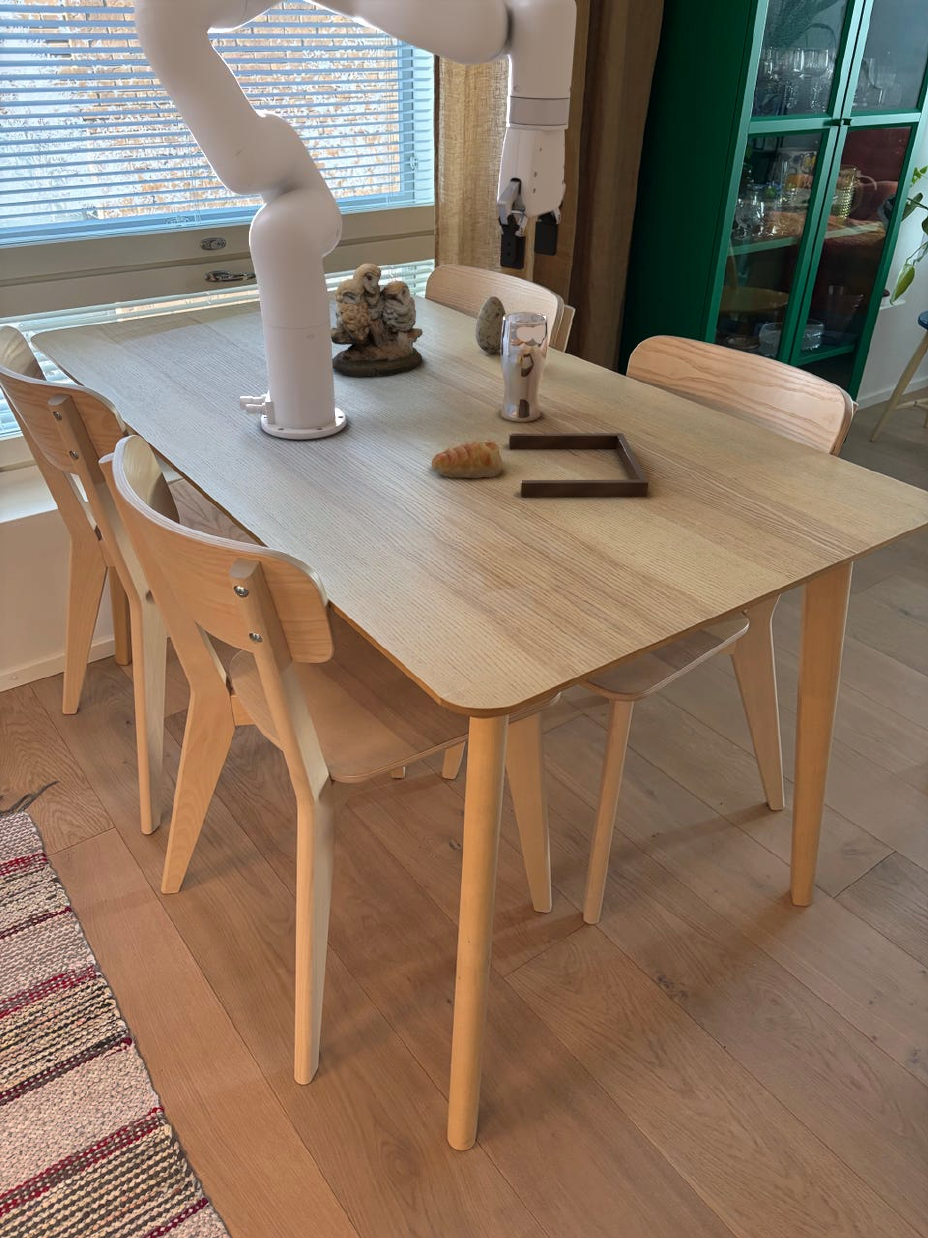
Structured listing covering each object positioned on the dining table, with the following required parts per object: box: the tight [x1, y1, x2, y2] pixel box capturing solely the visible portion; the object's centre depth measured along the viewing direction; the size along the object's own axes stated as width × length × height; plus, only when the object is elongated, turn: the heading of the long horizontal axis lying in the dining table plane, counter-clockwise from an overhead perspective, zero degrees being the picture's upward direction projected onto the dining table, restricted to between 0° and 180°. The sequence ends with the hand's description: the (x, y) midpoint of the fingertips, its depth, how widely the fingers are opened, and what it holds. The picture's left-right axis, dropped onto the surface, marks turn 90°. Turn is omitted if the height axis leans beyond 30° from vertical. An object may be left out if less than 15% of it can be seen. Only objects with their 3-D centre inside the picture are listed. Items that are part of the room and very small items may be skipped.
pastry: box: [430, 439, 504, 479], centre depth 129 cm, size 9×7×4 cm
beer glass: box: [500, 311, 549, 423], centre depth 144 cm, size 7×7×15 cm
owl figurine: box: [331, 263, 424, 378], centre depth 163 cm, size 18×12×17 cm, turn 126°
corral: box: [508, 432, 649, 498], centre depth 131 cm, size 16×17×2 cm
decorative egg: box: [474, 295, 507, 354], centre depth 173 cm, size 6×6×10 cm
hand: (528, 260), depth 125 cm, fingers open, 9 cm apart
